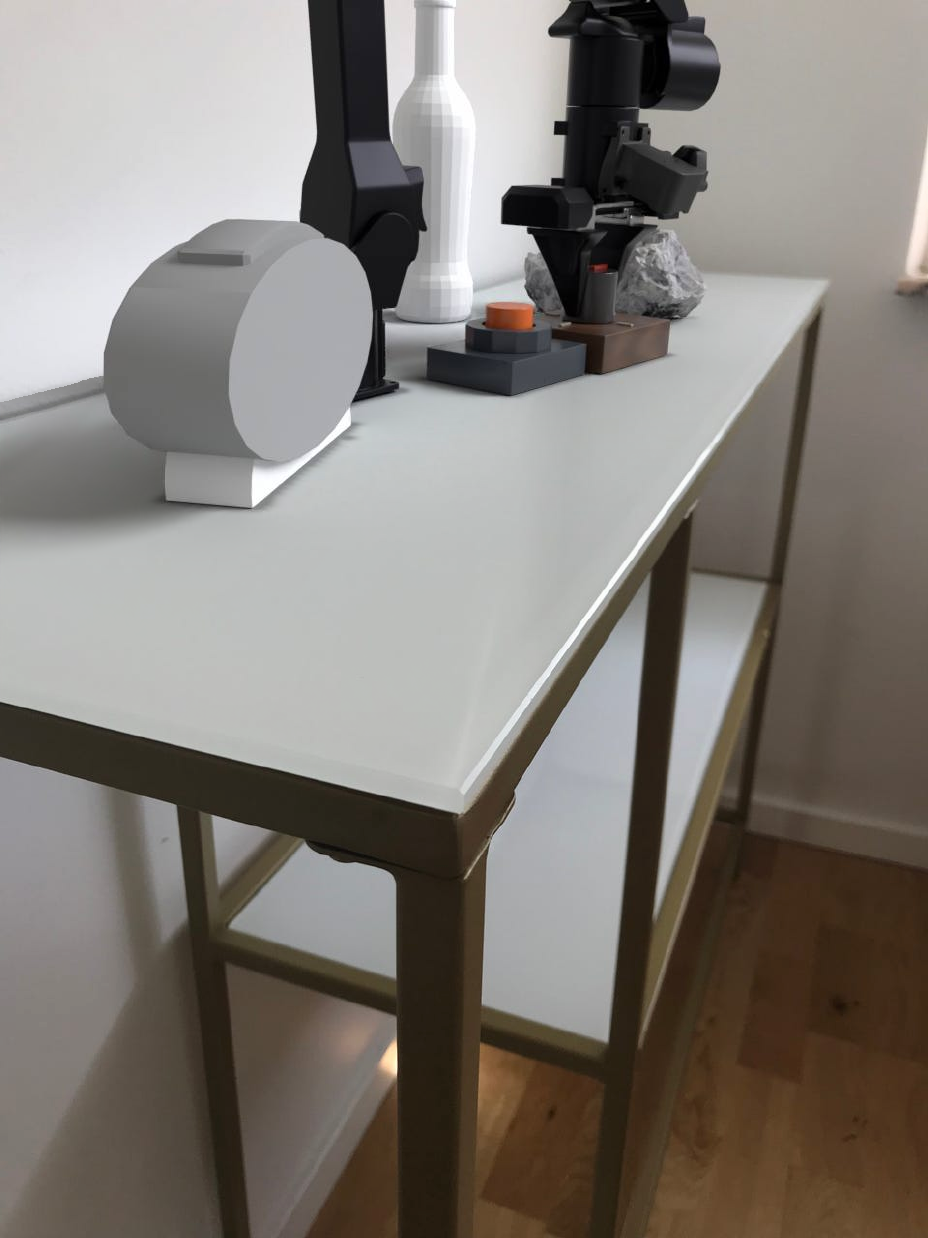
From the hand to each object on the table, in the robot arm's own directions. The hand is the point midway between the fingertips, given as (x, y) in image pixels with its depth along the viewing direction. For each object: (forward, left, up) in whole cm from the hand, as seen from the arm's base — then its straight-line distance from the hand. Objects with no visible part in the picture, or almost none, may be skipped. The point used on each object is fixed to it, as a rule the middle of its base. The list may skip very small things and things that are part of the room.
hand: (587, 313), depth 87 cm
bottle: (+6, +22, -4) cm, 23 cm away
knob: (0, 0, 0) cm, 0 cm away
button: (-11, 0, 0) cm, 12 cm away
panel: (0, 0, -4) cm, 4 cm away
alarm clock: (-39, -3, -4) cm, 39 cm away
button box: (-11, 0, -4) cm, 12 cm away
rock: (+20, +9, -4) cm, 22 cm away
